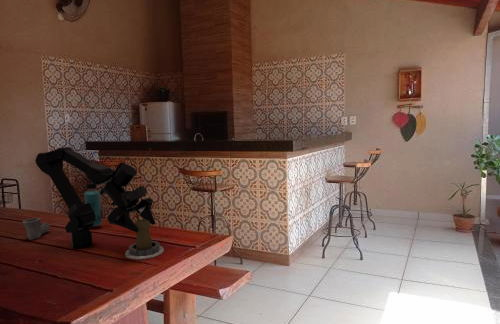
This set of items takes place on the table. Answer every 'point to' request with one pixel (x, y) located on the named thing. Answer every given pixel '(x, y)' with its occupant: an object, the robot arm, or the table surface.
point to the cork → (143, 235)
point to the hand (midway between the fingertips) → (146, 227)
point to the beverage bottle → (94, 202)
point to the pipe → (35, 228)
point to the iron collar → (144, 251)
